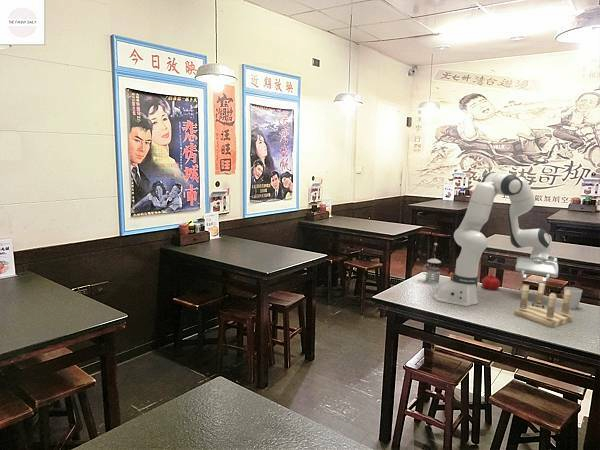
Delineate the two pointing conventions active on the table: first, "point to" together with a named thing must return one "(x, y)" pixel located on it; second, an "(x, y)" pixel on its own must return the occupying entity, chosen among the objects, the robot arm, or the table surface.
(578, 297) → the cup
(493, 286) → the pomegranate
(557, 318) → the stool
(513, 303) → the table surface
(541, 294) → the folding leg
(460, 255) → the robot arm
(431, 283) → the french press
